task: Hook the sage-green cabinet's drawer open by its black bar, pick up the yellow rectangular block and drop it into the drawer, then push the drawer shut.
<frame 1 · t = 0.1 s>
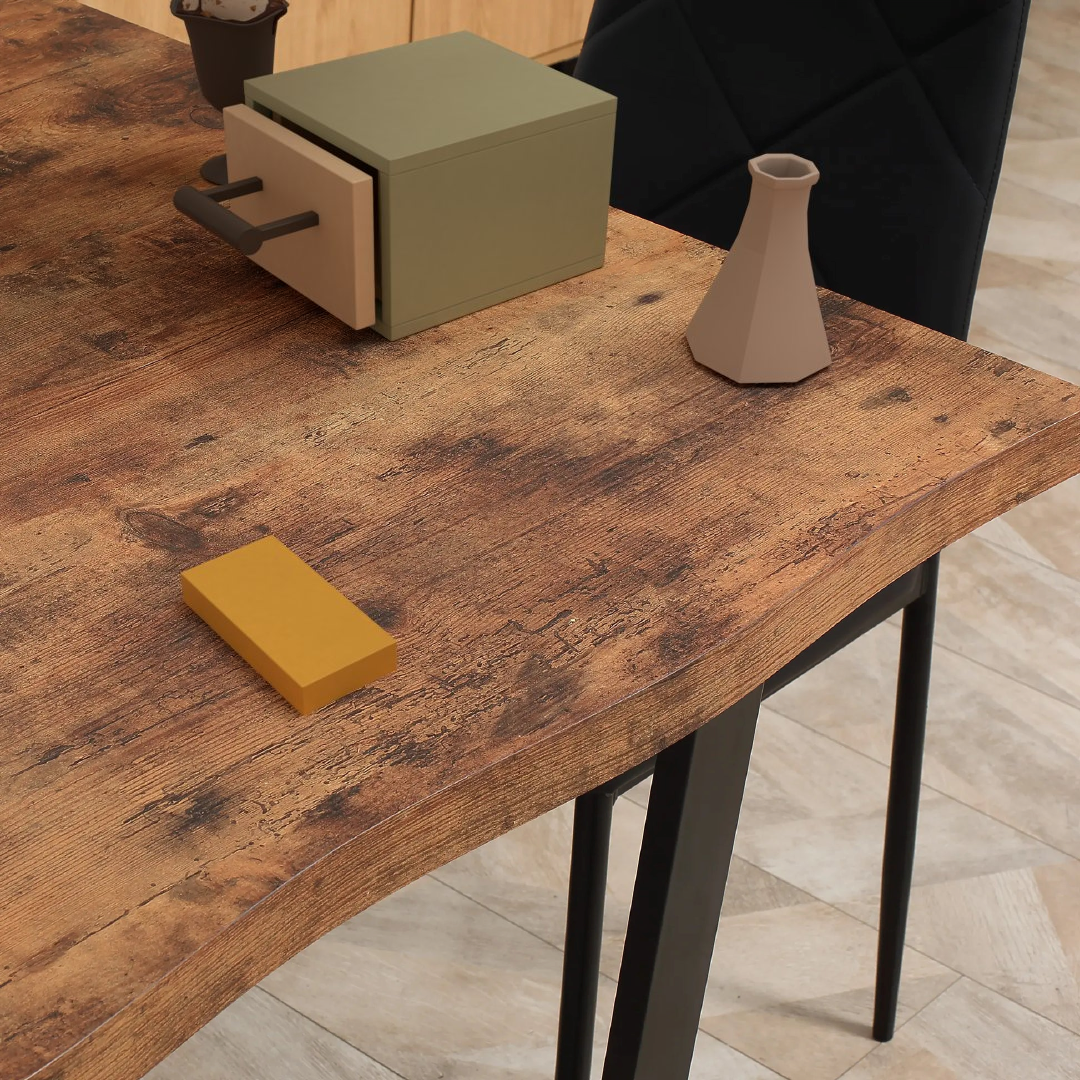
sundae: (243, 174, 94), on the table
drawer: (360, 197, 80), point 5 cm above the table, slide at 0.5 cm
yellow rectangular block: (290, 668, 57), on the table
cabinet: (430, 258, 85), on the table
flask: (756, 356, 79), on the table
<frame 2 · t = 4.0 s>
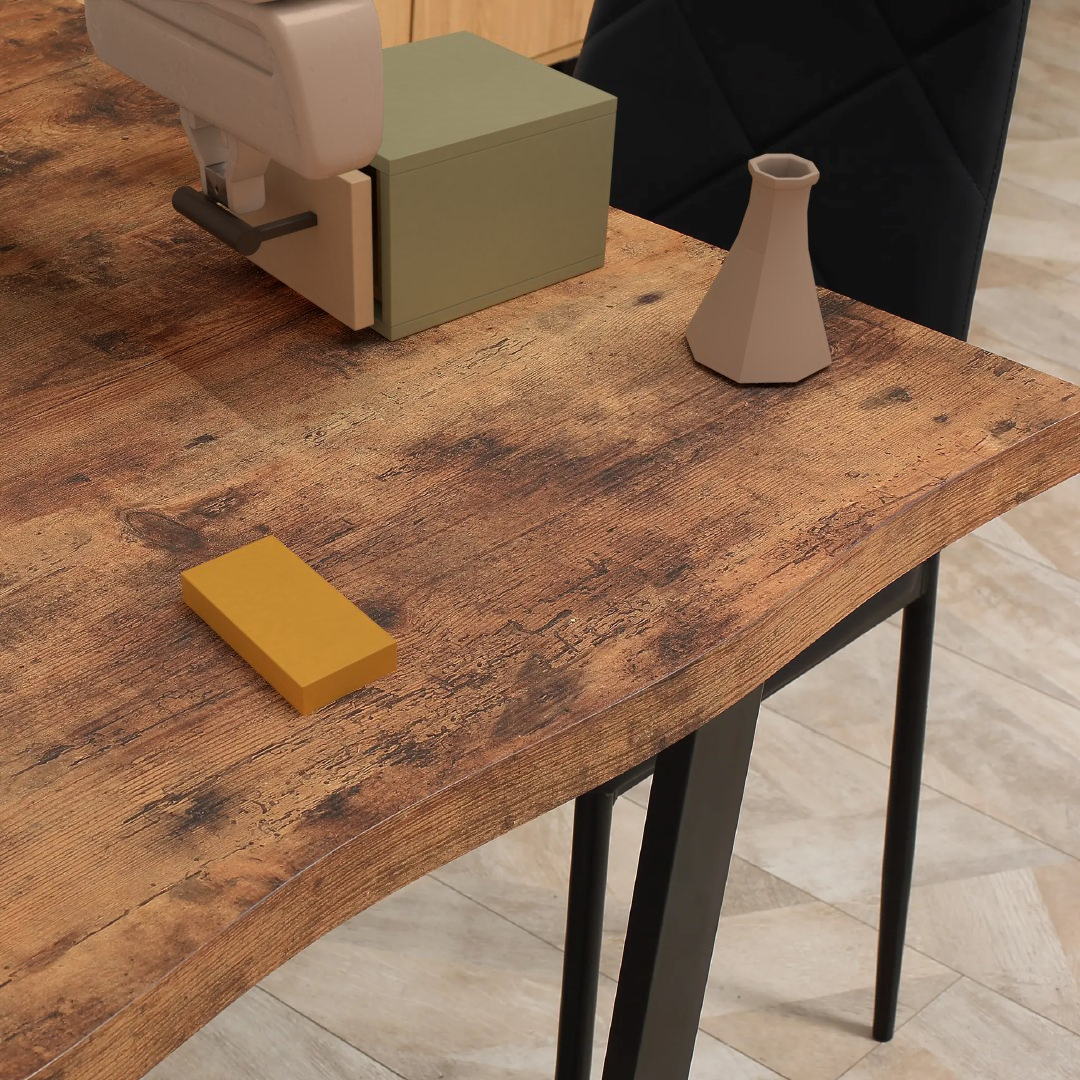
hand: (234, 203, 75), 6 cm above the table, tool pointing down, fingers closed, pressing on drawer
drawer: (358, 197, 80), point 5 cm above the table, slide at 0.6 cm, touching gripper
everything else where it was.
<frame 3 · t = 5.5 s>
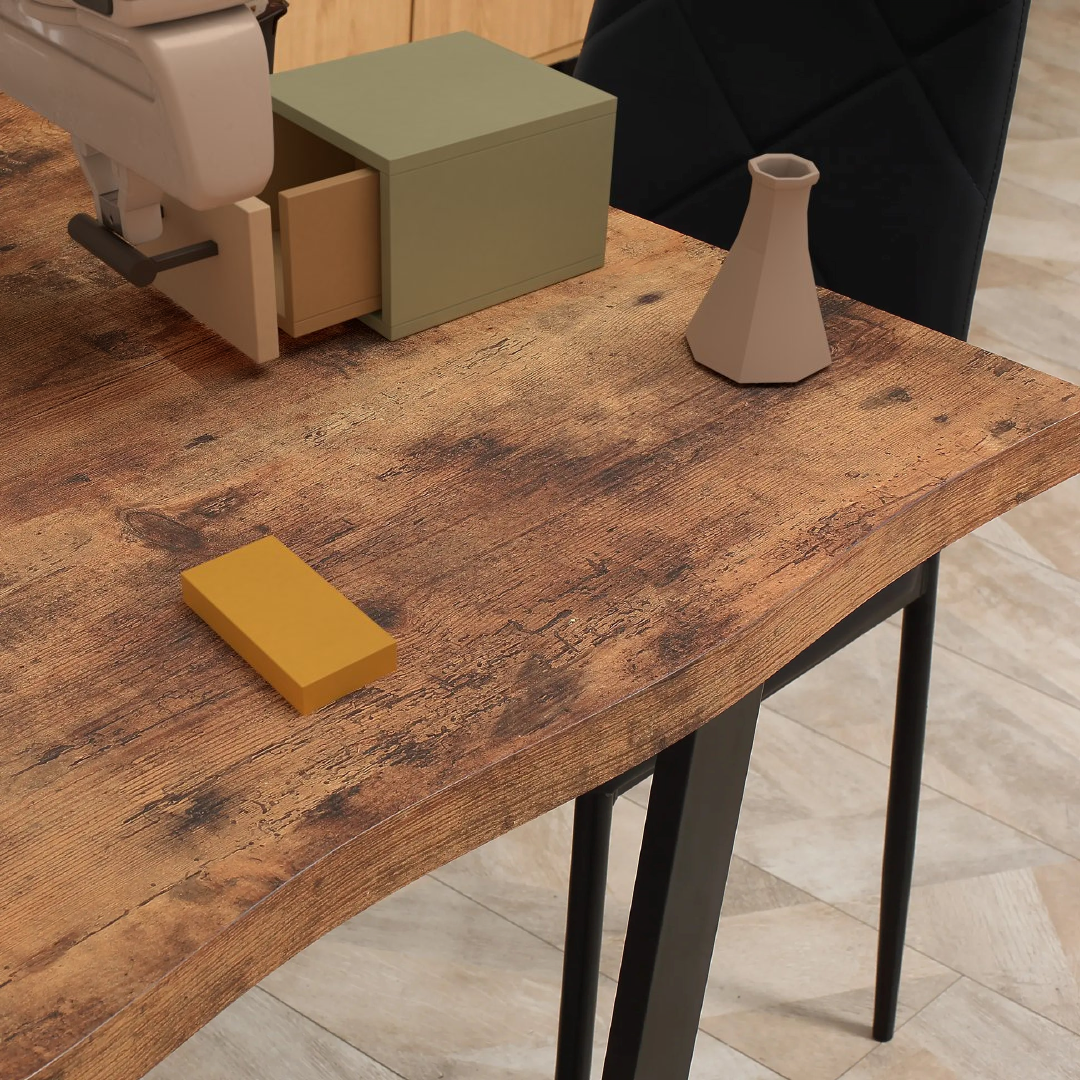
hand: (131, 232, 72), 6 cm above the table, tool pointing down, fingers closed, pressing on drawer
drawer: (267, 224, 77), point 5 cm above the table, slide at 6.1 cm, touching gripper
everything else where it was.
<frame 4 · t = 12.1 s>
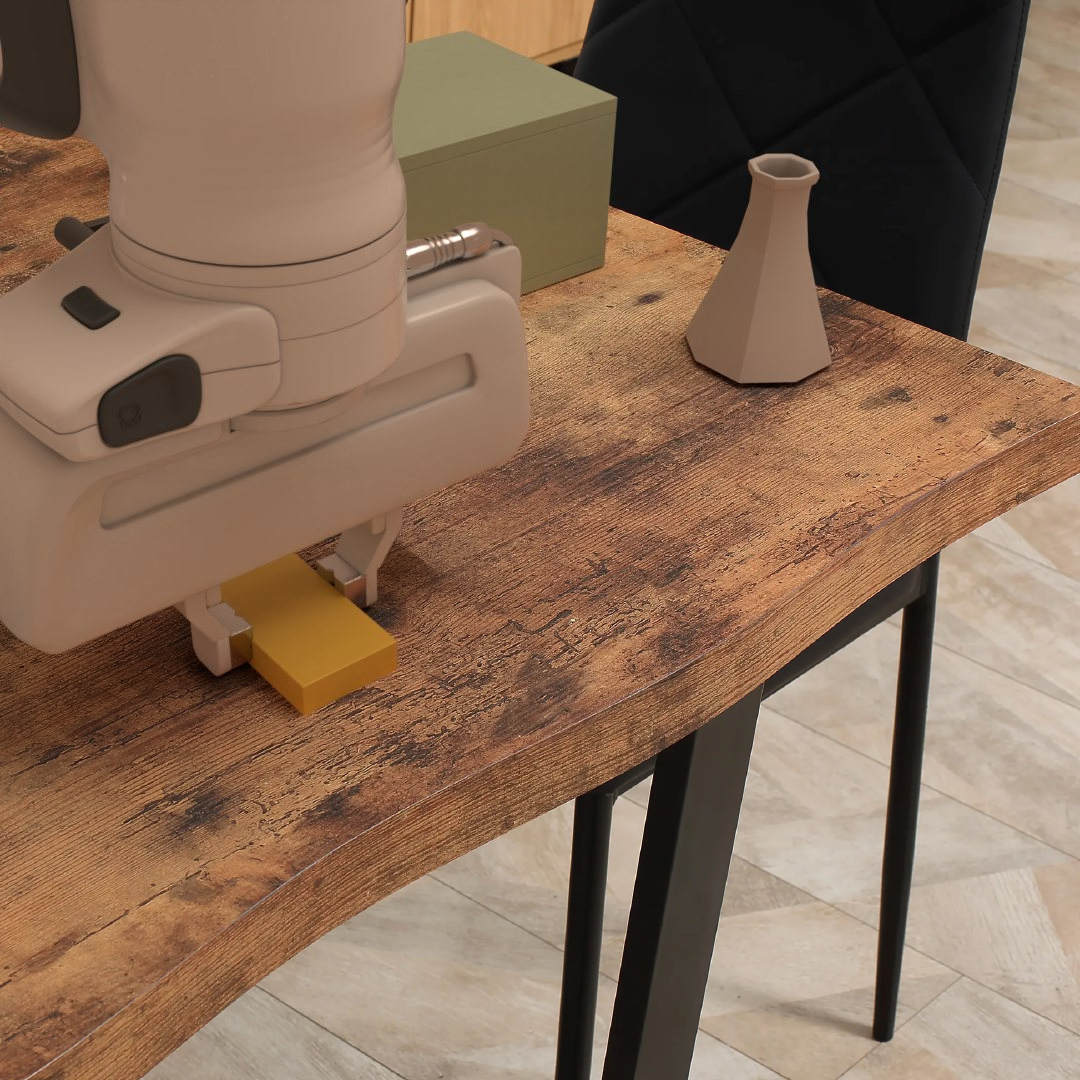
hand: (287, 631, 56), 2 cm above the table, tool pointing down, fingers closed on yellow rectangular block, 4 cm apart
drawer: (255, 227, 76), point 5 cm above the table, slide at 6.8 cm
yellow rectangular block: (290, 668, 57), on the table, touching gripper
everything else where it was.
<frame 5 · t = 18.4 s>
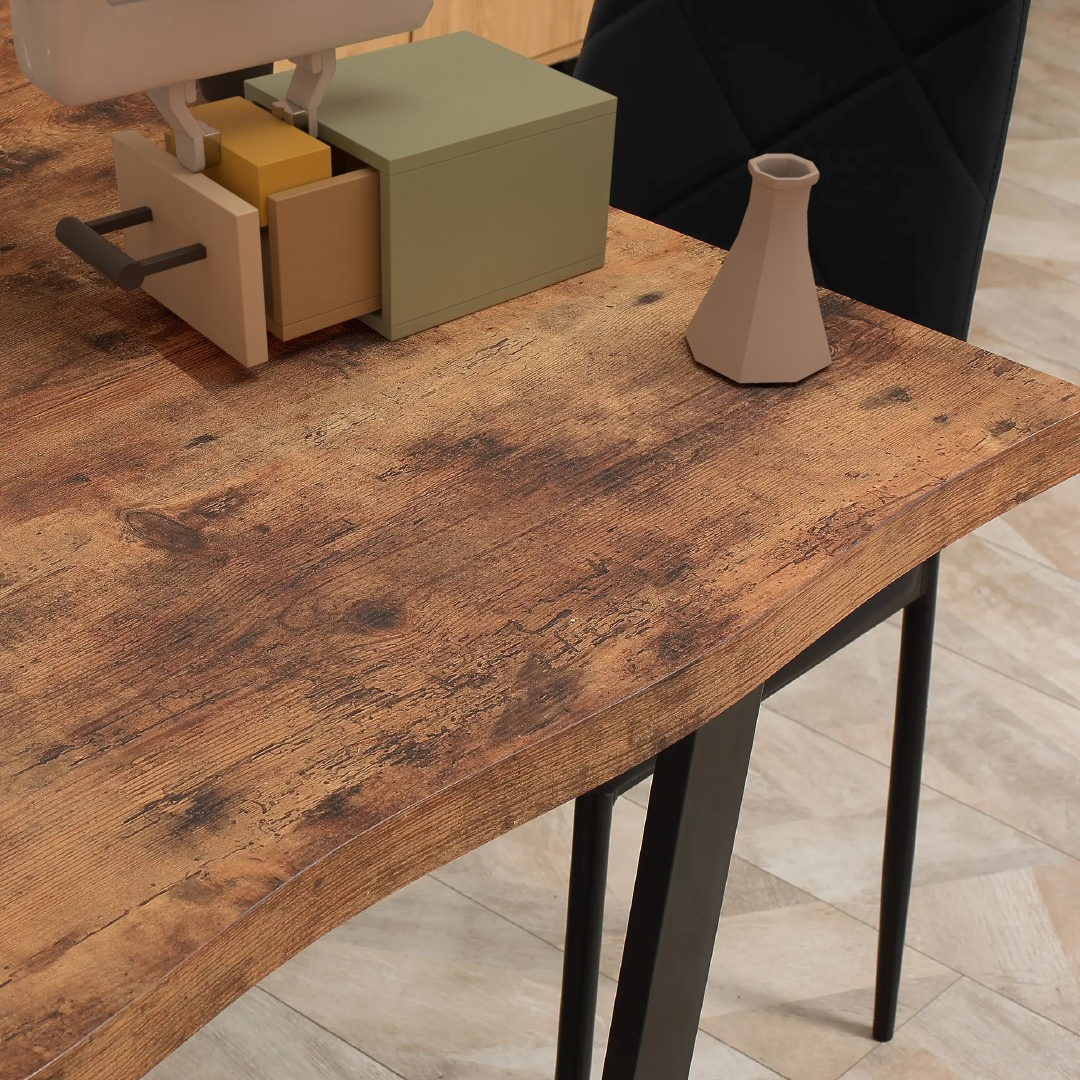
hand: (248, 153, 74), 9 cm above the table, tool pointing down, fingers closed on yellow rectangular block, 4 cm apart
drawer: (256, 227, 76), point 5 cm above the table, slide at 6.8 cm, touching gripper
yellow rectangular block: (252, 188, 75), point 7 cm above the table, touching gripper
everything else where it was.
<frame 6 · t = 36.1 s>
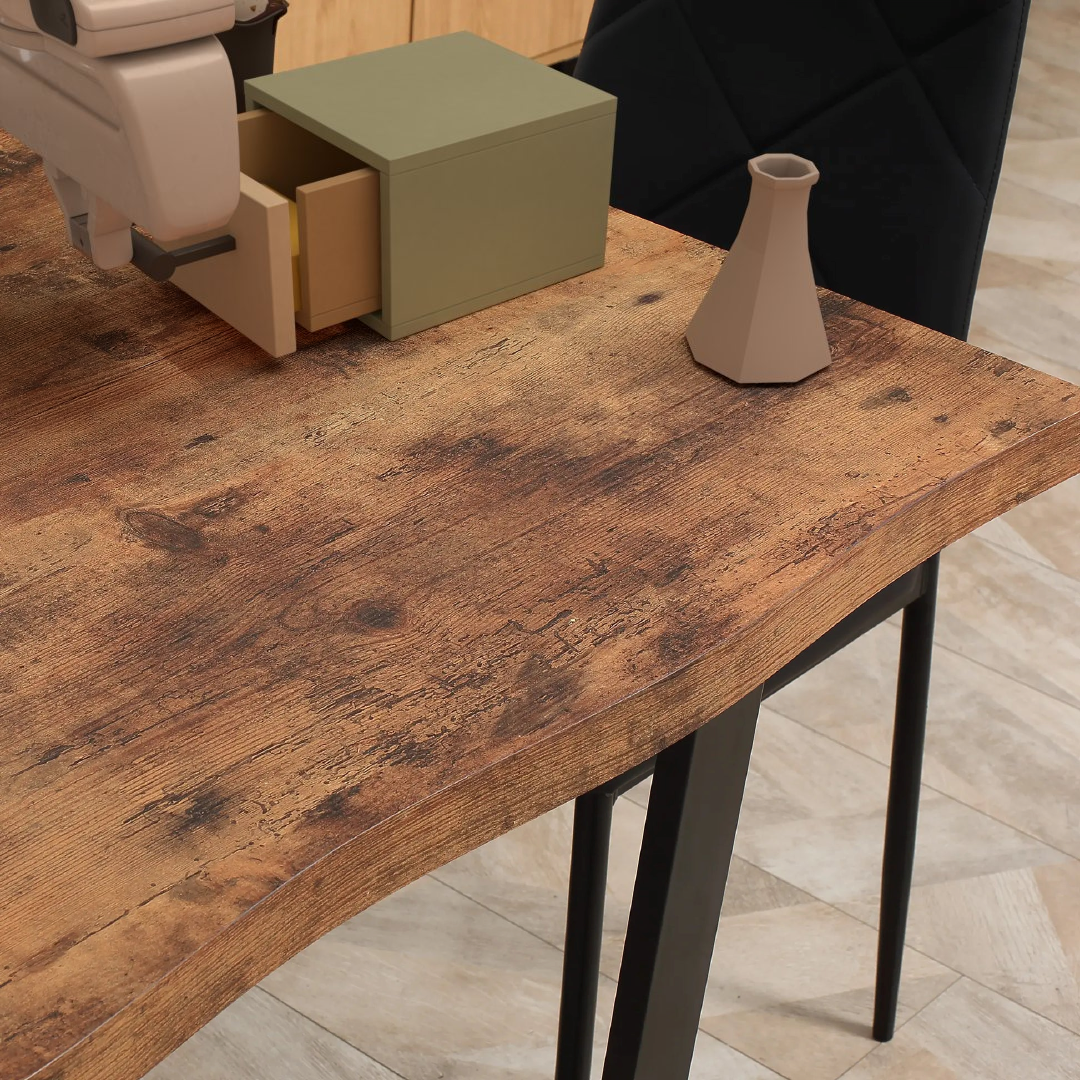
hand: (101, 255, 71), 6 cm above the table, tool pointing down, fingers closed, pressing on drawer
drawer: (283, 219, 77), point 5 cm above the table, slide at 5.2 cm, touching yellow rectangular block, gripper
yellow rectangular block: (276, 273, 79), point 2 cm above the table, touching drawer
everything else where it was.
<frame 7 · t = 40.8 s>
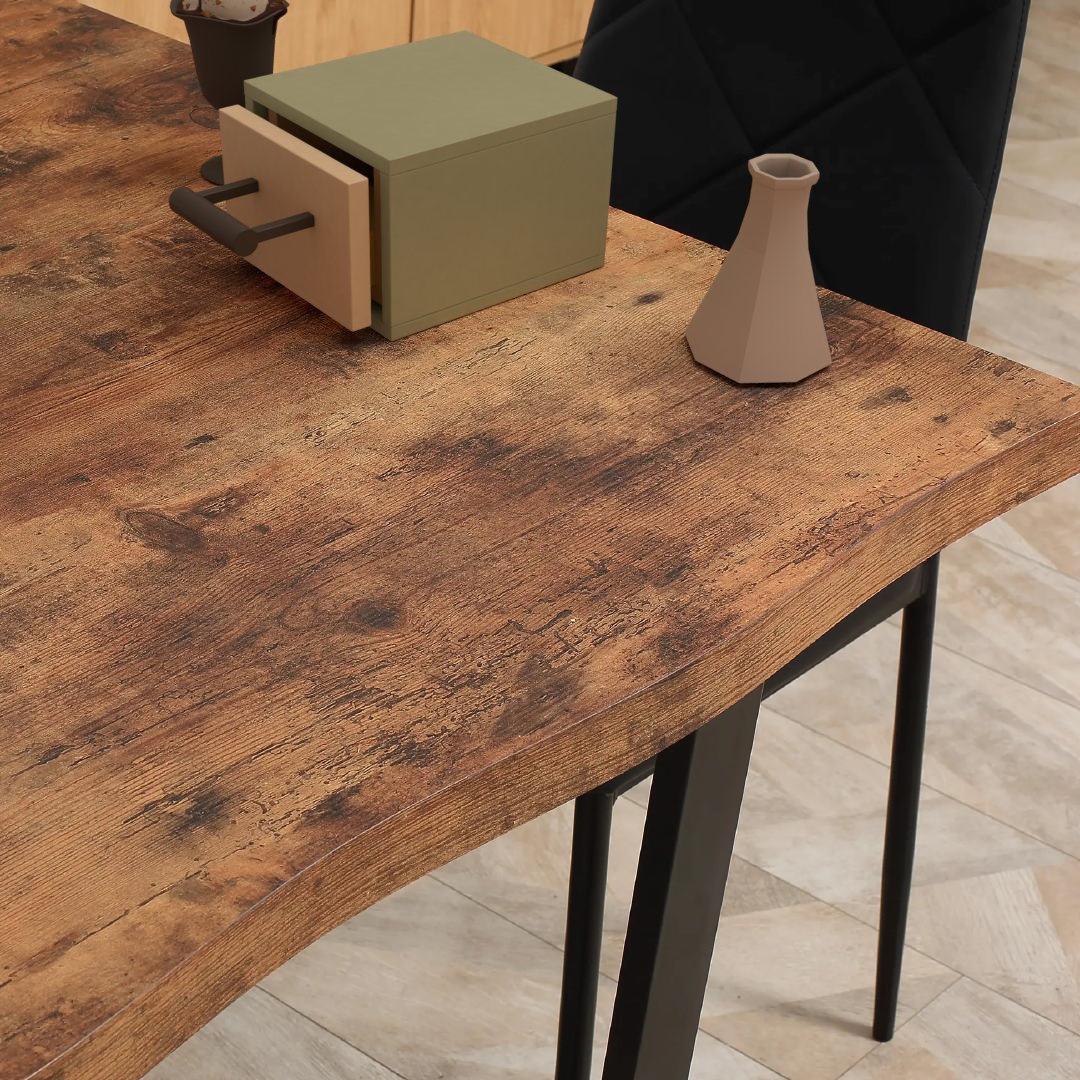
drawer: (356, 198, 80), point 5 cm above the table, slide at 0.7 cm, touching yellow rectangular block
yellow rectangular block: (348, 251, 81), point 2 cm above the table, touching drawer
everything else where it was.
at the end: drawer pulled out 6.8 cm at the most during the clip, back to 0.7 cm at the end; yellow rectangular block inside the target area in the cabinet (4.5 cm from its centre), point 2.0 cm above the cabinet's base; drawer slide at 0.7 cm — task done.
